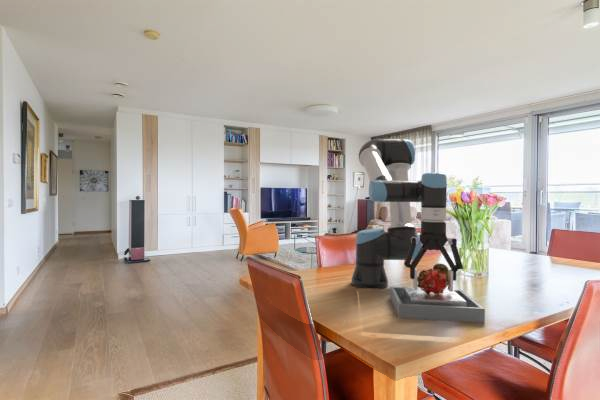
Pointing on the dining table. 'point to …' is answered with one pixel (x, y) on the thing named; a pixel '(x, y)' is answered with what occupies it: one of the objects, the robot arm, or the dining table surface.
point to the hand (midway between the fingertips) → (432, 289)
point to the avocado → (441, 269)
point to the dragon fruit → (432, 281)
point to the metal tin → (432, 298)
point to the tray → (438, 309)
